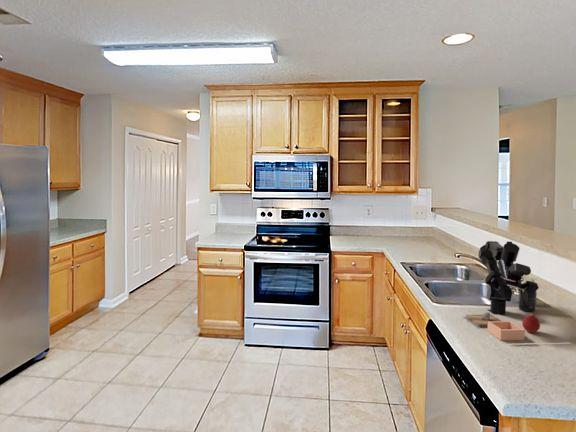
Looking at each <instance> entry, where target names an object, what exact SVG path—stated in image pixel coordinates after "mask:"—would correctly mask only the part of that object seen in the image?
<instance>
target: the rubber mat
mask: <svg viewBox="0 0 576 432" xmlns="http://www.w3.org/2000/svg"><path fill="white" fill-rule="evenodd" d="M462 318H464V319H465V320H466V321H467V322H468V323H470V324H472V325H473V326H474V327H476V328H477V329H487V328H488V327H478V326H477V325H476V324H474V323H473V322H471V321H470V320H469V319H467V318H466V316H462Z"/></svg>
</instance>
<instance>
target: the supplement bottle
mask: <svg viewBox="0 0 576 432" xmlns="http://www.w3.org/2000/svg"><path fill="white" fill-rule="evenodd" d="M524 283H525V282H522V284H524ZM518 292H519V294H518V309H519V310H520V311H522V312H527V313H533V312H536V311H537V309H536V308H537V295H538V294H537V291H536V292H535V293H534V294H533V295H532V296H530V300H529V303H528V304H526V302H525V301H524V299H523V297H522V296H521V294H522V293H521V292H520V290H519V291H518Z"/></svg>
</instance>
